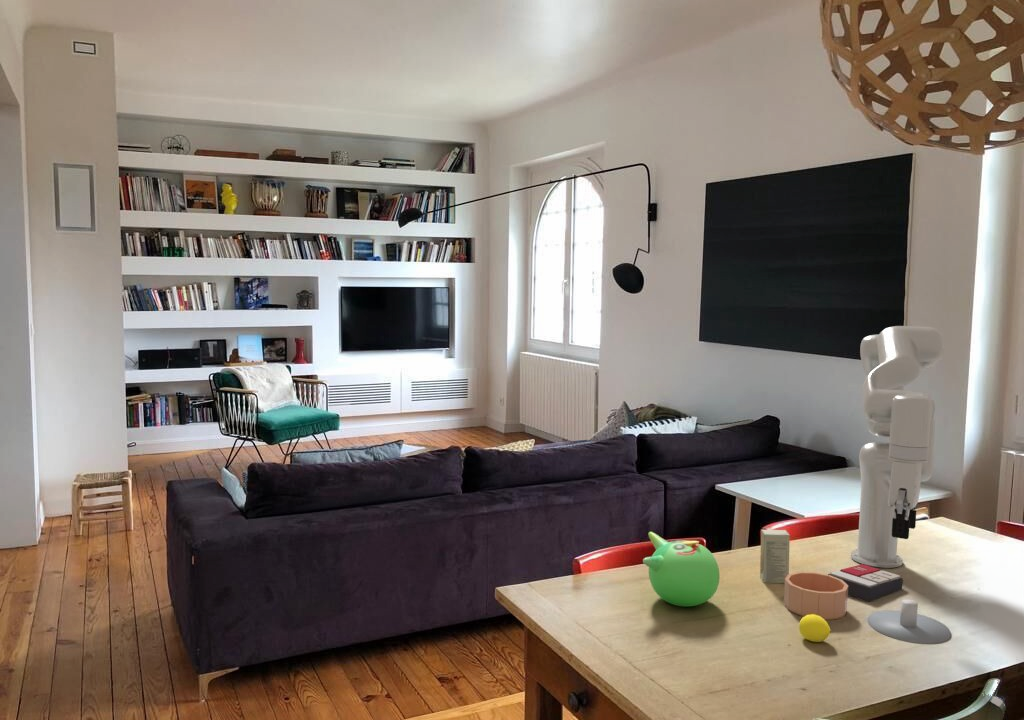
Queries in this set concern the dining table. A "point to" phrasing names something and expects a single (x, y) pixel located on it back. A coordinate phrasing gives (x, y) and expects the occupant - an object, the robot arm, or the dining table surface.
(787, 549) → the skincare box
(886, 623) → the lid
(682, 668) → the dining table surface
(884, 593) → the calculator
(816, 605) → the bowl
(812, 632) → the lemon
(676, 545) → the toy bird
